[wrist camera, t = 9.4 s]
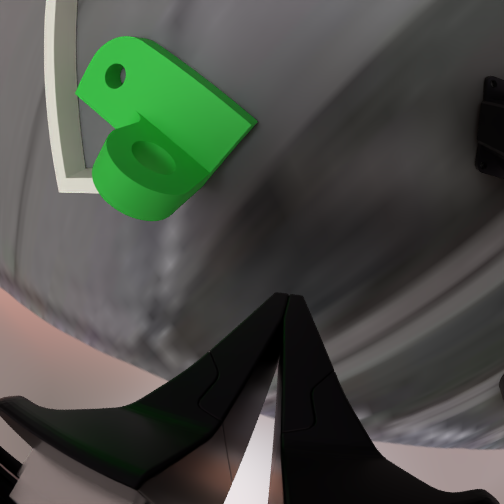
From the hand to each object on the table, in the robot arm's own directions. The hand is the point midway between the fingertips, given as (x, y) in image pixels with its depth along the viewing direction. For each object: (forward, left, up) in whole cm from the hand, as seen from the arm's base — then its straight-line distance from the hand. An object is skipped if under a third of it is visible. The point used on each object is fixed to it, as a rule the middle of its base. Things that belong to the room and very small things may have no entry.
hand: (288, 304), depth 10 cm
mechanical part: (+10, -5, -12) cm, 17 cm away
